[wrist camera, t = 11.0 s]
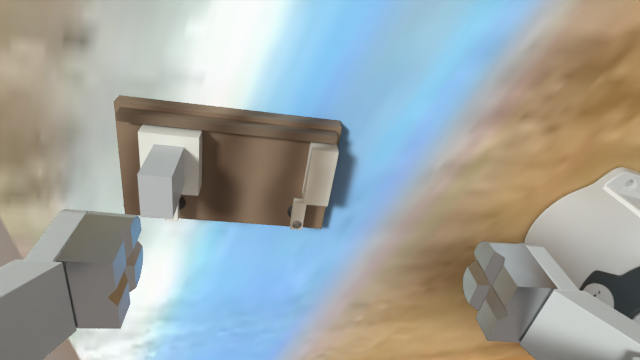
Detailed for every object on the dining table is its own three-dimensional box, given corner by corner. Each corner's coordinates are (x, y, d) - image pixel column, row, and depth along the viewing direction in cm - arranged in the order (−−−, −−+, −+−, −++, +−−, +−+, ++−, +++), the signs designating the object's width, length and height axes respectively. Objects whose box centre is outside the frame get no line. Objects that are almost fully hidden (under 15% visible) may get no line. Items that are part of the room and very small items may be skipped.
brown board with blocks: (340, 120, 40) (345, 138, 37) (320, 220, 46) (323, 241, 43) (119, 95, 37) (104, 112, 34) (129, 205, 43) (118, 228, 40)
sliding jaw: (202, 128, 38) (188, 167, 32) (201, 210, 42) (188, 257, 36) (144, 121, 37) (118, 161, 31) (149, 205, 41) (128, 254, 36)
